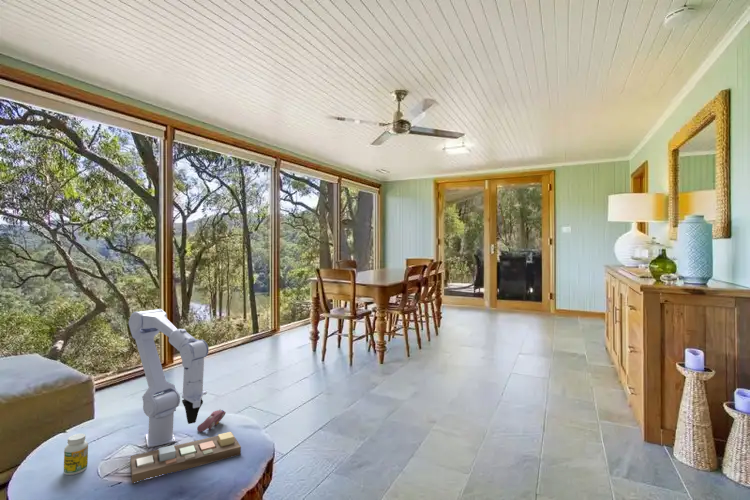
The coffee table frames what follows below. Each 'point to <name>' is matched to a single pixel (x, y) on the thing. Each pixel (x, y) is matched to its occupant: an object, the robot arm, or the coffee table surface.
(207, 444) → the terracotta key
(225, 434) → the ochre key
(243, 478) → the coffee table surface
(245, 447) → the coffee table surface
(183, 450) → the sage key
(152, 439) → the robot arm
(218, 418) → the video game controller
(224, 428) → the coffee table surface
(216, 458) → the keypad
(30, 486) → the coffee table surface
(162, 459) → the bluegrey key
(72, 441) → the supplement bottle
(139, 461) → the offwhite key
